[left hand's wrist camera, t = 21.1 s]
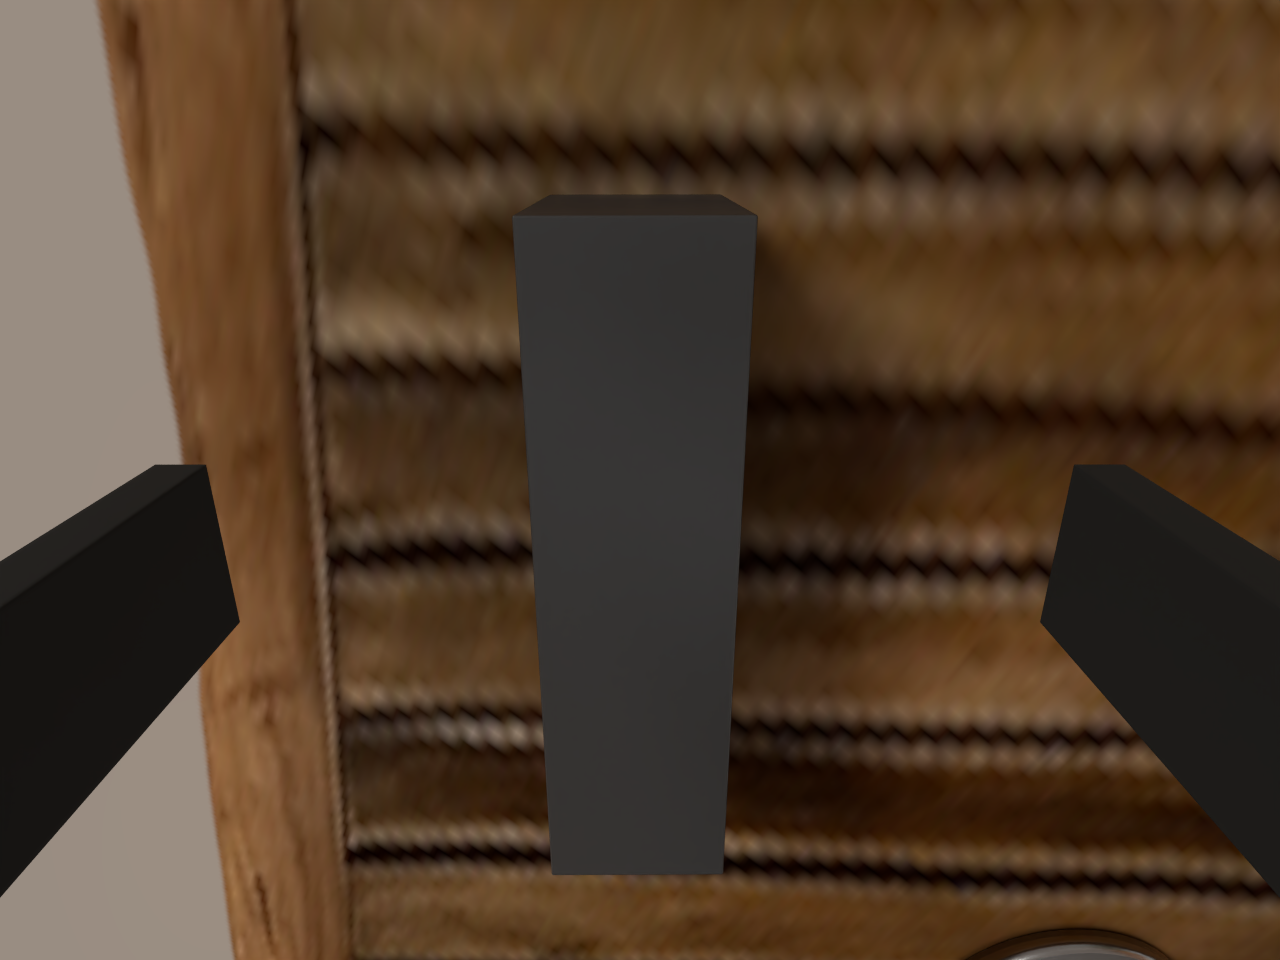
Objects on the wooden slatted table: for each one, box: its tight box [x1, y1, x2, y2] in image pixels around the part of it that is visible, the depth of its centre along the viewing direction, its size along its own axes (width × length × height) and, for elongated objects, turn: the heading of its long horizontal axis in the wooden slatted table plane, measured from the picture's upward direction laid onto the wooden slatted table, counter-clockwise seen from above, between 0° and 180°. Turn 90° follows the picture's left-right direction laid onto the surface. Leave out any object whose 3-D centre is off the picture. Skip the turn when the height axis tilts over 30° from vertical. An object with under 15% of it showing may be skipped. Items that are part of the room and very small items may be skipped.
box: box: [512, 195, 758, 875], centre depth 28 cm, size 22×6×9 cm, turn 0°
